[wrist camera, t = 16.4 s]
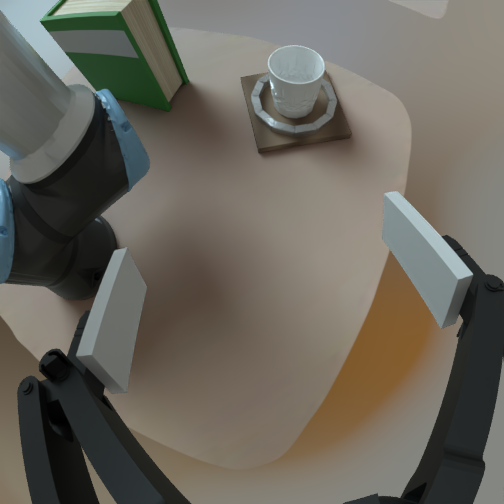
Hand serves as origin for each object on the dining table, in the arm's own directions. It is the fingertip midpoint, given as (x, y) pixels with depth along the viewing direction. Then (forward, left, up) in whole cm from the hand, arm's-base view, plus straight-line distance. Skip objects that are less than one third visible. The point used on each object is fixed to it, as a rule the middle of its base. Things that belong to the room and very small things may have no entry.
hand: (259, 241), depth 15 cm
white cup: (+10, +27, -28) cm, 40 cm away
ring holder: (+10, +27, -30) cm, 41 cm away
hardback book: (-16, +40, -30) cm, 52 cm away
